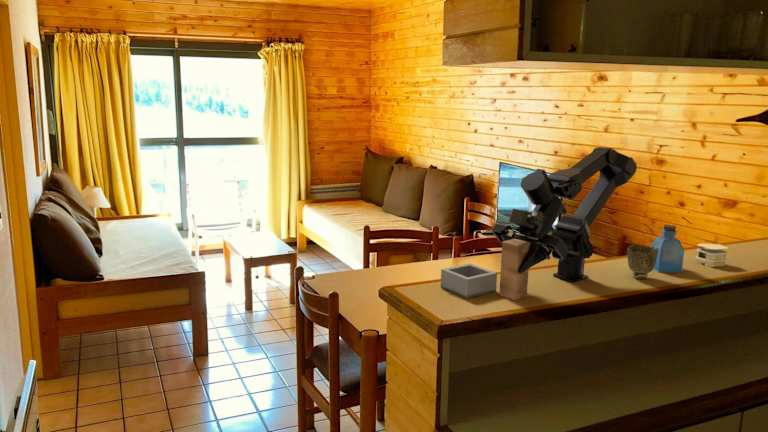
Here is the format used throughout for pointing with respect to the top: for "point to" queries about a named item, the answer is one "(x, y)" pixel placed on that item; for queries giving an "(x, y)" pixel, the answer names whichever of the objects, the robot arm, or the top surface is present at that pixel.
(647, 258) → the cup
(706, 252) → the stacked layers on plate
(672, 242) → the perfume bottle
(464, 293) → the slate well
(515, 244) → the walnut block
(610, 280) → the top surface
